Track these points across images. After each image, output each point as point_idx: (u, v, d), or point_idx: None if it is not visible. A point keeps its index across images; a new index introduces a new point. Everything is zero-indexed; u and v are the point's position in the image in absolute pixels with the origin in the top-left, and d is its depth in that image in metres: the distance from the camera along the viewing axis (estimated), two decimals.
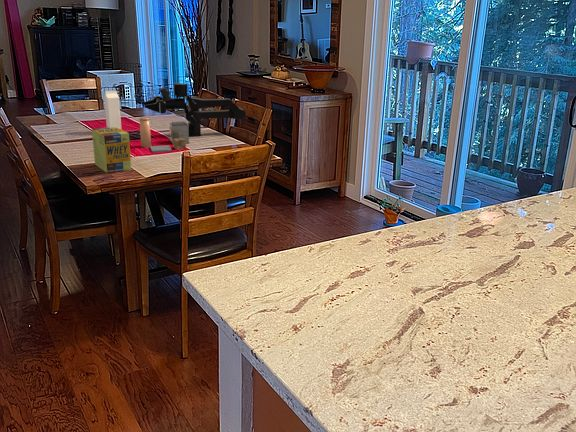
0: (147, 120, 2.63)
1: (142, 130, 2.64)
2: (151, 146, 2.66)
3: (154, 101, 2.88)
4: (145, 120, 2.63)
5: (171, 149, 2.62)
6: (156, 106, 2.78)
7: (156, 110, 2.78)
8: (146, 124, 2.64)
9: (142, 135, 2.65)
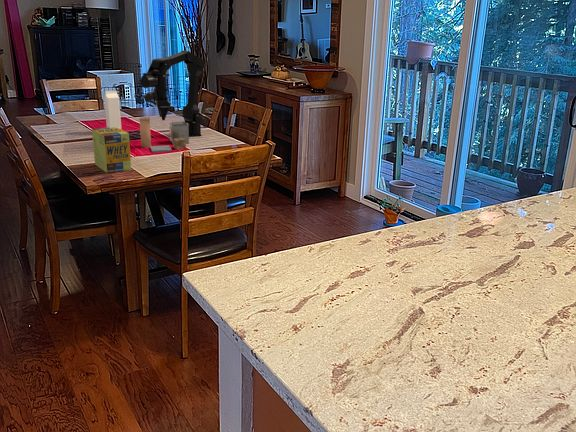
0: (147, 120, 2.63)
1: (142, 130, 2.64)
2: (151, 146, 2.66)
3: None
4: (145, 120, 2.63)
5: (171, 149, 2.62)
6: (163, 108, 2.66)
7: (167, 109, 2.66)
8: (146, 124, 2.64)
9: (142, 135, 2.65)
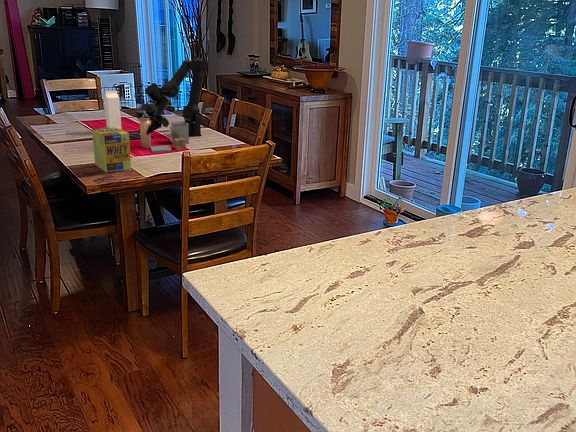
0: (147, 120, 2.63)
1: (142, 130, 2.64)
2: (151, 146, 2.66)
3: None
4: (145, 120, 2.63)
5: (171, 149, 2.62)
6: (154, 124, 2.66)
7: (157, 127, 2.67)
8: (146, 124, 2.64)
9: (142, 135, 2.65)
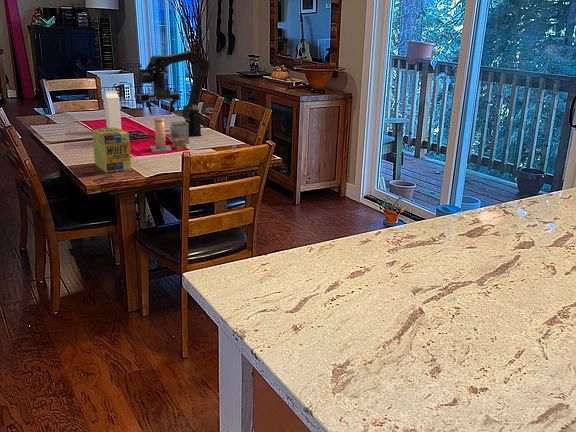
0: (163, 121, 2.59)
1: (158, 131, 2.59)
2: (151, 146, 2.66)
3: (149, 102, 2.74)
4: (161, 121, 2.58)
5: (171, 149, 2.62)
6: None
7: None
8: (162, 125, 2.59)
9: (158, 136, 2.60)
